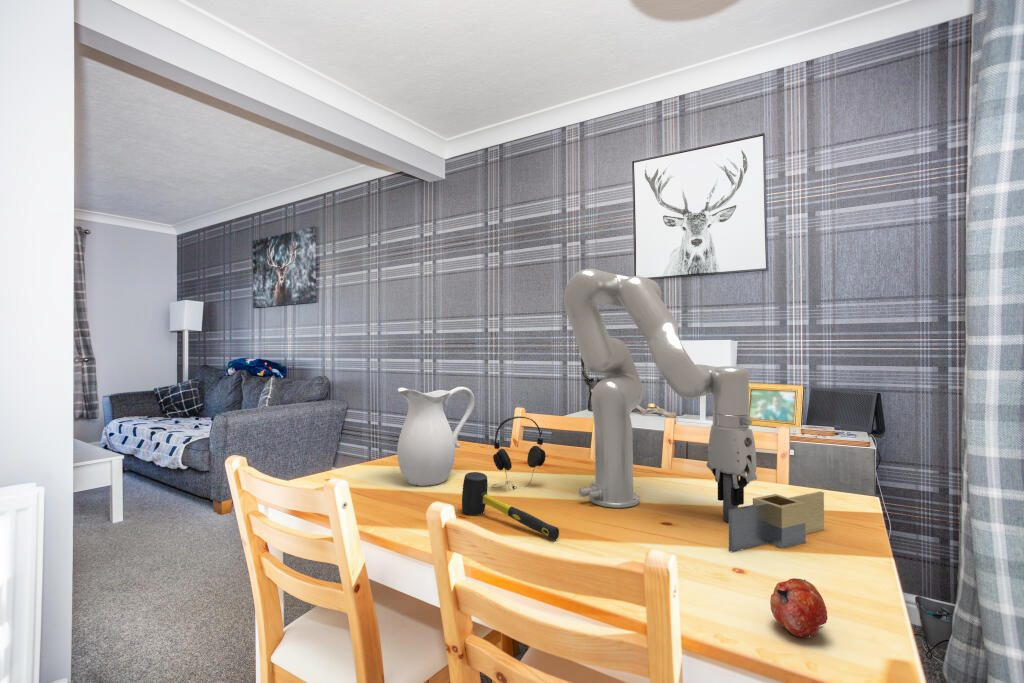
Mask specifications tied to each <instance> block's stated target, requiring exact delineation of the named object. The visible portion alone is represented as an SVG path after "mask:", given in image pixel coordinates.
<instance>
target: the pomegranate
mask: <svg viewBox="0 0 1024 683" xmlns="http://www.w3.org/2000/svg"><path fill="white" fill-rule="evenodd" d="M769 602H770V610H771V613H772V616H773V617H774V619H775V620H776V622H777V623H778V624H779V625H781V626H782V627H784V628H785V629H786V630H788V632H789V633H791V634H792V635H794V636H796V637H799V638H804V637H808V638H810V637H812V636H816V635H817V634H818V633H819V627H821V625H825V624H827V621H828V609H827V606H826V604H825V601H824V598H823V596H822V595H821V594H820V592H819V591H818V589H817V587H816V586H815V585H814V584H812V583H811V582H810V581H808V580H806V579H802V578H796V577H794V578H790V579H787V580H786V581H779V582H778V583H776V585H775V587H774V590H773V593H772V594H771V596H770V601H769ZM809 636H810V637H809Z"/></svg>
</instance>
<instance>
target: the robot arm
mask: <svg viewBox="0 0 1024 683" xmlns="http://www.w3.org/2000/svg"><path fill="white" fill-rule="evenodd" d="M662 295H663V293H662V290H661V287H660V285H659V284H658V283H657V282H656V281H655V280H653V279H651V278H648V277H643V276H639V275H633V276H628V275H623V274H619V273H618V274H617V273H612V272H608V271H604V270H599V269H595V268H586V269H582V270H579V271H577V272H576V273H574V274H573V275H572V276H571V278H570V279H569V281H568V282H567V284H566V287H565V290H564V292H563V302H564V303H563V304H564V309H565V312H566V315H567V316H566V317H567V318H568V321H569V324H570V326H571V329H572V332H573V335H574V338H575V342H576V345H577V347H578V350H579V353H580V356H581V359H582V363H583V364H584V367H585V368H586V369H587V371H589V372H590V373H592V374H595V375H603V379H601V380H599V381H598V382H597V383H596V384H595V385H594V387H593V389H592V391H591V398H590V403H591V408H592V416H593V423H594V424H593V426H594V471H595V472H594V473H595V475H594V476H595V477H594V478H595V480H594V482H593V481H592V482H591V486H589V487H584V488H579V490H578V494H579V497H589V498H588V499H589V501H590V502H591V503H592V504H595V505H597V506H600V507H606V508H613V509H614V508H617V509H621V508H622V509H623V508H631V507H634V506H637V505H638V504H639V503H640V499H641V498H640V496H639V494H637V493H635V492H634V458H633V457H634V456H633V455H634V448H633V445H634V443H633V442H634V441H633V426H632V425H633V424H632V419H631V415H630V411H631V410H634V409H636V408H637V407H638V406H639V405H640V404H641V403H642V400H643V398H644V387H643V383H642V381H641V378H640V375H639V373H638V369H637V367H636V364H635V361H634V359H633V356H632V354H631V351H630V349H629V348H628V346H627V345H626V344H625V342H624V341H623V340H620V339H619V338H615V337H611V336H610V334H609V332H608V329H607V327H606V323H605V320H604V318H603V316H602V314H601V313H600V311H599V310H598V307H597V303H598V304H604V305H605V304H606V305H609V306H610V305H611V306H615V307H616V306H617V307H621V308H624V310H625V311H626V312H627V314H628V316H629V317H630V319H631V320H632V322H633V323H634V324H635V327H637V329H638V330H639V332H640V334H641V335H642V337H643V338H644V340H645V341H646V343H647V347H648V349H649V352H650V354H651V357H652V359H653V361H654V364H655V366H656V367H657V369H658V371H659V372H660V374H661V375H662V377H663V379H664V380H665V381H666V382H667V384H668V386H669V387H670V389H672V391H673V392H674V393H675V394H676V395H677V396H679V397H680V398H683V399H686V400H695V399H698V398H700V397H704V396H712V424H711V425H710V432H709V439H708V450H707V451H708V453H707V458H708V460H707V462H706V467H707V468H708V469H709V470H710V472H712V475H713V476H714V481H715V482H716V483H717V500H718V501H720V502H721V501H722V502H723V473H722V472H720V469H721V468H724V469H726V470H727V471H728V472H730V473H732V475H733V486H734V487H732V488H731V504H732V505H733V506H737V505H738V506H740V505H741V506H742V505H744V504H745V499H744V498H745V490H744V489H745V488H747V486H748V485H749V484H750V483H751V482H753V481H756V480H758V477H757V474H756V471H757V451H756V450H757V448H756V443H755V442H756V441H755V437H754V433H753V429H752V428H750V426H751V425H752V423H753V422H752V420H751V419H750V415H749V414H750V398H749V397H750V396H749V394H750V392H749V391H750V384H749V382H750V378H749V377H750V375H749V374H750V373H749V371H748V369H747V368H746V367H742V366H731V365H729V366H728V365H726V366H713V365H707V364H698V363H697V364H695V363H694V362H693V360H692V359H691V357H690V355H689V354H688V352H687V351H686V349H685V348H684V346H683V344H682V342H681V340H680V335H679V324H678V321H677V319H676V318H675V316H674V315H673V314H672V312H671V311H670V310H669V308H668V307H667V305H666V304H665V302H664V301H663V299H662V298H663V297H662Z"/></svg>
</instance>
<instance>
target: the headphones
mask: <svg viewBox="0 0 1024 683" xmlns="http://www.w3.org/2000/svg"><path fill="white" fill-rule="evenodd" d="M515 419H526V420H530V421H531V422H533V423H534V425H535V426H536V428H537V430H538V433H539V437H538V438H537V441H536V444H537V445H532V447H531V448H530V449H529V451H528V454H527V459H526V462H527V466H528V467H529V468H533V470H532V472H534V471H535V468H536V467H541V466H543V465H544V464H545V462H546V457H547V456H546V451H545V450H544V449H542V448H541V447H540V446H543V443H544V439H543V437H542V436H543V430H541V429H540V427H539V425H538V423H537V422H536V421H535V420H534V419H532V418H529V417H526V416H518V415H517V416H512V417H509V418H507V419H505V420H503V421H502V422H501V423H500V424H499V425H498V427H497V429H496V432H495V435H494V437H495V438H494V442H493V447H494V448H493V449H495V450H497V451H496V453H494V454H493V455H492V458H493V460H492V461H493V463H494V465H495V467H496V468H497V470H498V471H503V470H504V471H505V475H506V478H508V476H507V471H510V470H511V469H512V467H513V466H512V465H513V464H512V461H511V458H510V456H509V454H508V452H507V451H506V450H505V448H501V446H500V442H499V441H498V433H499V431H500V429H501V428H502V427H503V426H504V424H505V423H507V422H509V421H513V420H515ZM538 445H539V446H538ZM533 474H534V473H532V474H531V476H533ZM532 479H533V478H530V481H529V483H528V484H527V485H526V486H525V488H527V487H528V486H529V485H530V483H531V481H532ZM506 486H507V487H508V489H509V490H510V491H511V489H512V488H514V487H516V486H514V485H512V488H511V489H510V488H509V481H507V482H506ZM514 489H515V488H514Z"/></svg>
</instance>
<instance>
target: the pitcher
mask: <svg viewBox="0 0 1024 683" xmlns="http://www.w3.org/2000/svg"><path fill="white" fill-rule="evenodd" d="M397 392H398V393H399V394H400V395H401V396H402V397H404V398H405V400H406V402H407V405H408V408H407V414H406V417H405V419H404V421H403V424H402V427H401V430H400V434H399V438H398V441H397V447H396V448H397V450H396V453H397V454H396V455H397V463H398V466H399V469H400V472H401V474H402V475H403V477H404V479H405V480H406V482H407V483H408V484H409V483H410V485H412V486H416V485H418V486H419V487H429V485H430V486H435V485H440V484H442V483H443V482H445V481H447V479H448V477H449V476H450V474H451V473H452V470H453V467H454V465H455V464H454V463H455V458H456V448H457V449H460V448H461V446H460V444H459V442H458V437H459V434H460V433H461V431H462V428H463V427H464V425H465V424H466V423H467V420H468V419H469V418H470V416H471V414H472V412H473V410H474V407H475V404H476V398H475V395H474V393H473V391H472V390H471V389H470V388H468V387H465V386H457V387H454V388H452V389H451V390H445V389H444V390H443V389H437V390H434V391H429V392H421V391H418V390H415V389H409V388H405V387H403V386H402V387H399V388H398V389H397ZM457 393H464V394H466V396H467V397H468V405H467V408H466V411H465V413H464V414H463V416H462V417H461V419H460V421H459V423H457V425H456V427H455V429H454V431H452V428H451V426H450V422H449V420H448V419H447V417H446V415H445V414H446V413H445V412H444V406H445V407H446V406H448V404H449V400H450V399H451V398H452V397H453V396H454V395H456V394H457Z"/></svg>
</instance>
